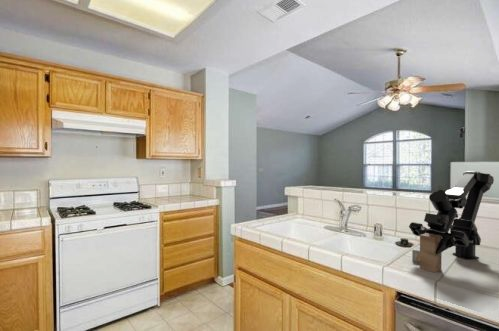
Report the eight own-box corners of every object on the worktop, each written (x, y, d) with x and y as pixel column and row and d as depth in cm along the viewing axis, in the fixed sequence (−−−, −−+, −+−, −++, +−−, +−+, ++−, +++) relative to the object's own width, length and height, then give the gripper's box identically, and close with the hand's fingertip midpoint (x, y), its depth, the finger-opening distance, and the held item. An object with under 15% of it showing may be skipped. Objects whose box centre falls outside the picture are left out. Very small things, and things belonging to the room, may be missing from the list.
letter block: (413, 257, 112) (413, 246, 112) (426, 259, 109) (426, 248, 109) (412, 261, 108) (412, 249, 108) (425, 263, 105) (425, 252, 105)
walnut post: (426, 265, 103) (427, 233, 103) (441, 269, 99) (441, 236, 99) (419, 267, 101) (420, 234, 101) (434, 272, 96) (434, 238, 96)
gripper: (411, 202, 110) (395, 232, 104) (466, 209, 93) (449, 245, 88) (422, 219, 113) (406, 249, 108) (476, 229, 97) (460, 264, 92)
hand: (428, 251), depth 99 cm, fingers closed on walnut post, 5 cm apart
